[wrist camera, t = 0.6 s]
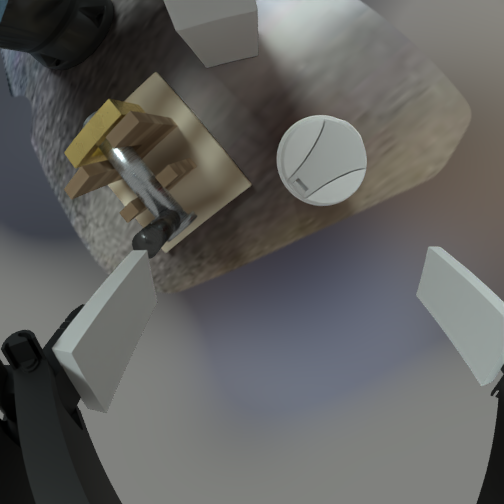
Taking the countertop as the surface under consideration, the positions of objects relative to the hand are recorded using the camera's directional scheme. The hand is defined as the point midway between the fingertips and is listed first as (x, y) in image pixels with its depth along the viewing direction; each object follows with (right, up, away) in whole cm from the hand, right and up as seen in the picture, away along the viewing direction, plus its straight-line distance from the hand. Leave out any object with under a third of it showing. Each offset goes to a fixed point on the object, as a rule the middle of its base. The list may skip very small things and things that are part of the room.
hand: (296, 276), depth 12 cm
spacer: (-19, +15, +15) cm, 28 cm away
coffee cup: (+5, +14, +24) cm, 28 cm away
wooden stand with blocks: (-15, +13, +24) cm, 32 cm away
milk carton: (-5, +29, +18) cm, 35 cm away
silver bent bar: (-15, +11, +18) cm, 26 cm away
